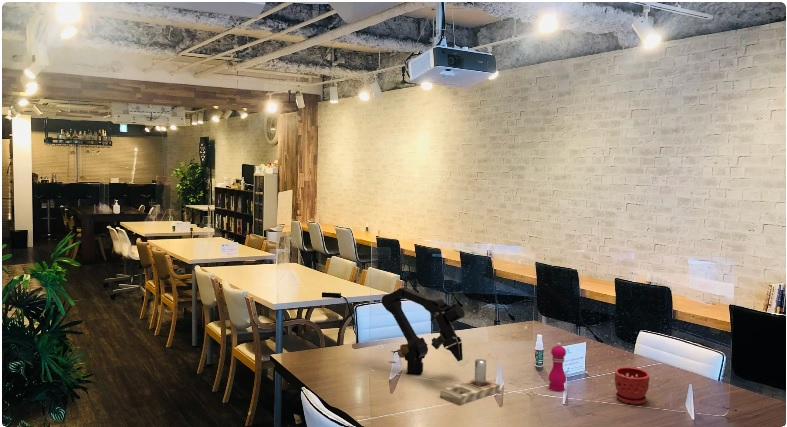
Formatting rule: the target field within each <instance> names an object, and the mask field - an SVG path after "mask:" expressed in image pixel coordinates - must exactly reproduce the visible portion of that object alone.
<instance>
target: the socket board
mask: <svg viewBox="0 0 787 427" xmlns="http://www.w3.org/2000/svg"><path fill="white" fill-rule="evenodd" d="M474 381H475V378H474V379H472V380H468V381H465V382H462V383H458V384H455V385H450V386H448V387H445V388H442V389H440V390H439V393H440V394H439V397H440V398H442V399H444V400H446V401H449V402H452V403H454V404H456V405H458V406H462V405H465V404H467V403H470V402H474V401H477V400H480V399H482V398H486V397H489V396H492V395H495V394H497V393H500V392H501V391H500V390H501V384H499V383H495V382H492V381H490V380H487V379H486V386H484V387H478V386H476V385H474Z"/></svg>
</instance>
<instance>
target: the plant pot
mask: <svg viewBox="0 0 787 427" xmlns="http://www.w3.org/2000/svg"><path fill="white" fill-rule="evenodd" d="M627 374H628V375H627ZM649 384H650V374H649V372H647V371H646V370H643V369H641V368H638V367H637V368H636V367H627V366H623V367H618V368H617V369H615V371H614V386H615V389H616V391H617V392H615V396H616V399H618V400H619V401H620V402H623V403H625V404H628V403H630V404H629V405H641V403H642V404H644V403H646V401H647V396H646V395H647V393H648V391H649V390H648V389H649Z"/></svg>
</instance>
